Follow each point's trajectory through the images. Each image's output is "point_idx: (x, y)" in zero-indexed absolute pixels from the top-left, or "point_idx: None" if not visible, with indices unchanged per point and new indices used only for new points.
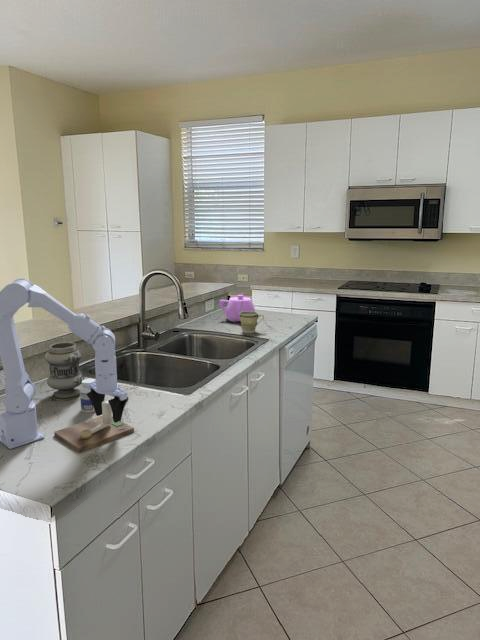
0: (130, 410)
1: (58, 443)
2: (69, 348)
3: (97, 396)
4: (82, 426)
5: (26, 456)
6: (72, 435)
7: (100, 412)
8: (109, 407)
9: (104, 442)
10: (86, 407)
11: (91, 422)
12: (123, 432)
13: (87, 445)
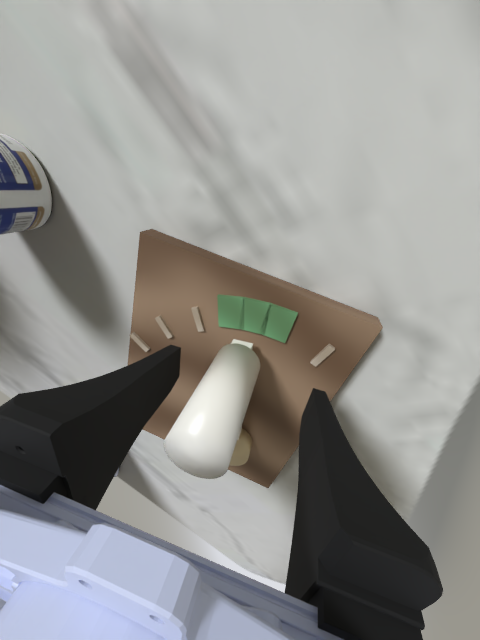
0: (179, 48)
1: None
2: None
3: (100, 467)
4: None
5: (171, 491)
6: None
7: (173, 370)
8: (236, 441)
9: None
10: (17, 230)
11: (157, 336)
12: (347, 373)
13: (278, 473)
